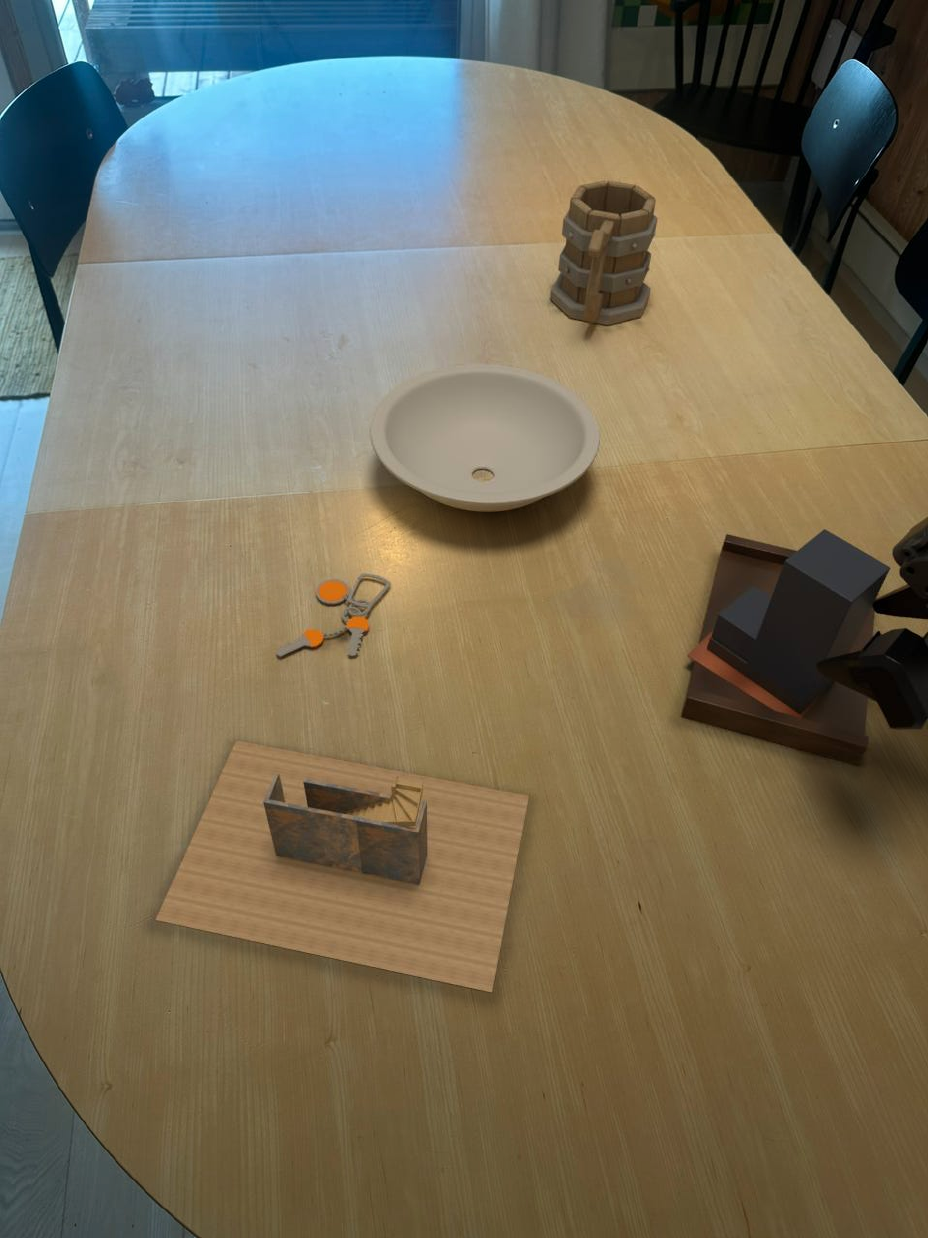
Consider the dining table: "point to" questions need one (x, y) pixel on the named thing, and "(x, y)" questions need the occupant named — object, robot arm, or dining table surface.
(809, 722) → the brown serving tray
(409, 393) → the white vessel sink
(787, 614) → the charcoal gray box
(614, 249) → the tankard
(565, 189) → the dining table surface
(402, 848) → the architectural model on board
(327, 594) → the key chain
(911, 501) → the dining table surface
